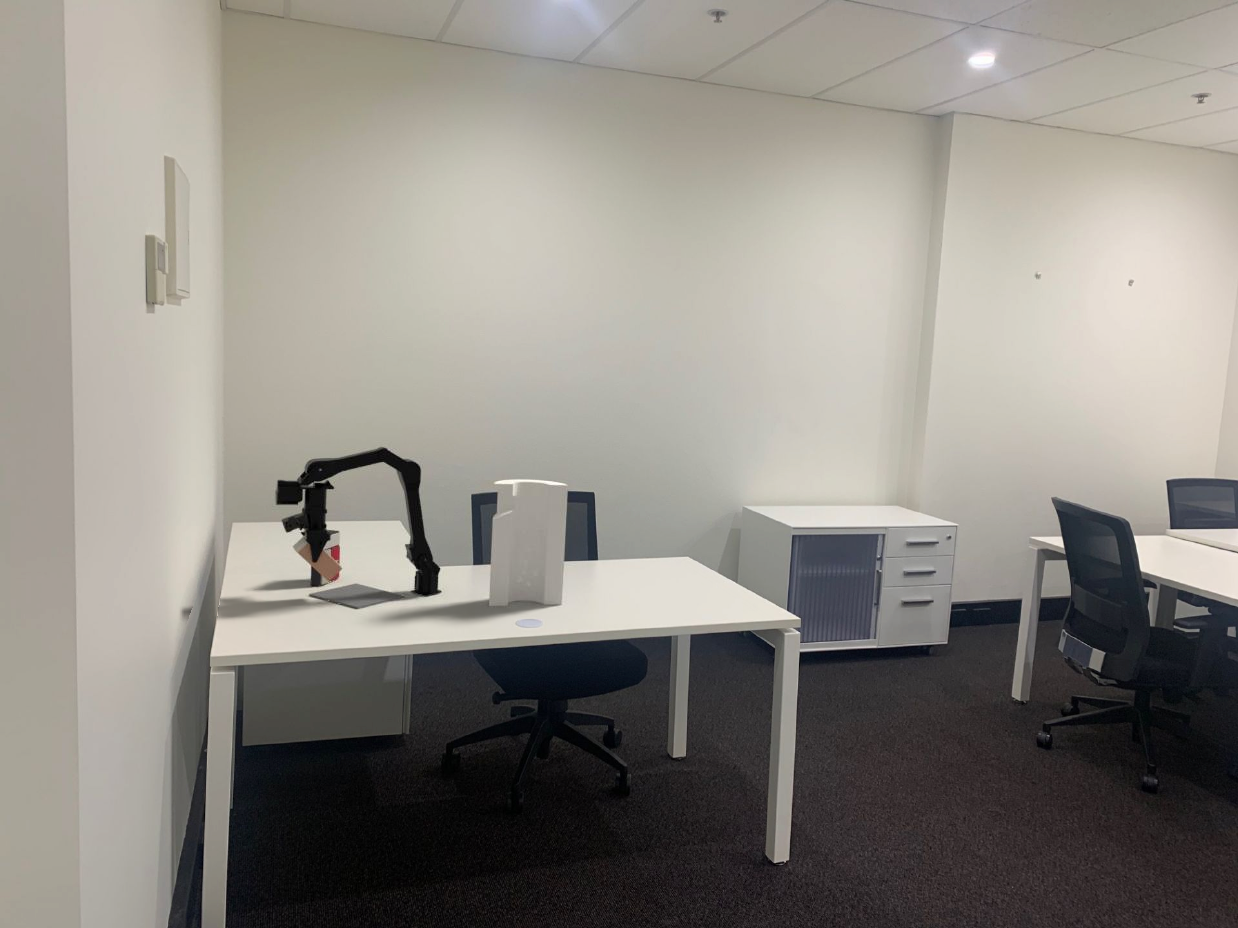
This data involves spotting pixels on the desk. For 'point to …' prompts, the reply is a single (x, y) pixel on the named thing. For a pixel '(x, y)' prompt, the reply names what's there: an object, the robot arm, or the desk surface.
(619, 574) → the desk surface
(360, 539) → the desk surface
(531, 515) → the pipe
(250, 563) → the desk surface
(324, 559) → the peach block
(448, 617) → the desk surface
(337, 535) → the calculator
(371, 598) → the grey mat
